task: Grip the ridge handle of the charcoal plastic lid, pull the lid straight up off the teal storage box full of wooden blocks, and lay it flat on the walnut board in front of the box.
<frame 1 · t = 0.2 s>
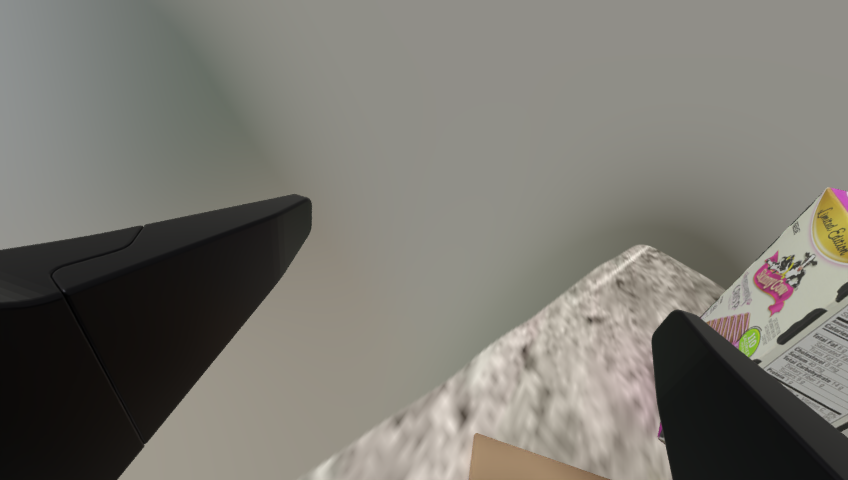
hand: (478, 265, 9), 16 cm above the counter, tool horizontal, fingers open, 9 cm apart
candy bar box: (692, 405, 27), on the counter
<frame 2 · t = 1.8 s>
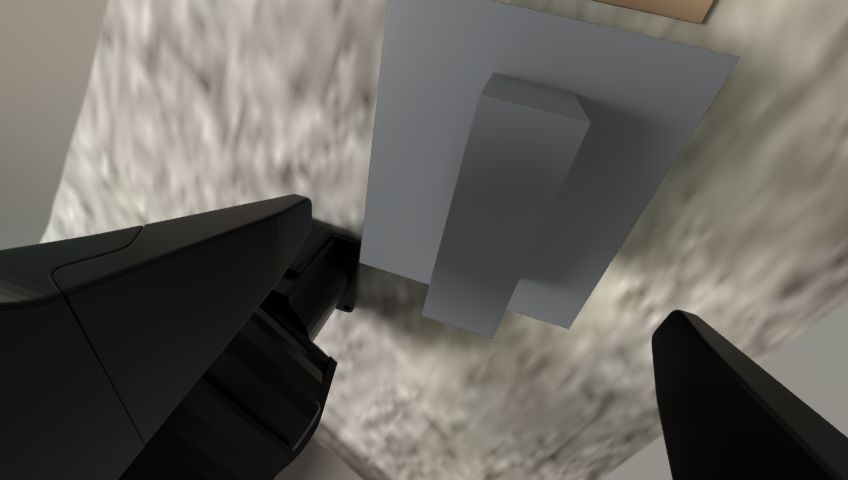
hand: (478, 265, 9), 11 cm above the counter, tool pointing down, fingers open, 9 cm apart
lid: (501, 167, 14), point 4 cm above the counter, touching storage box
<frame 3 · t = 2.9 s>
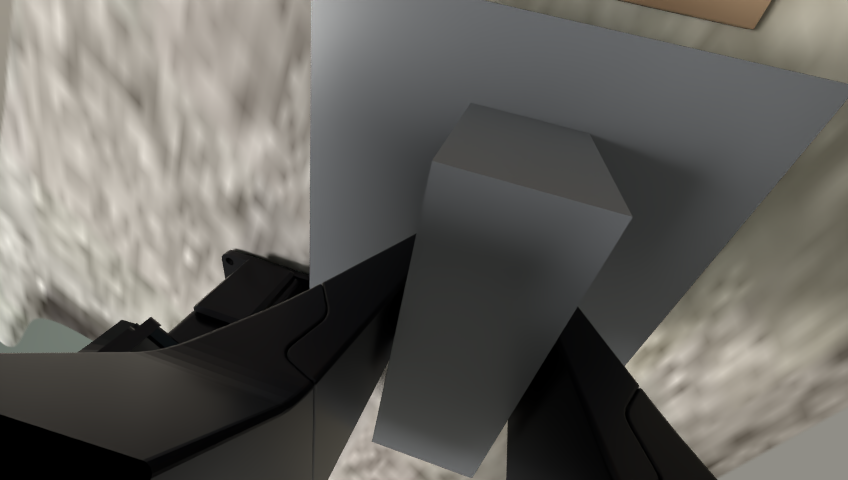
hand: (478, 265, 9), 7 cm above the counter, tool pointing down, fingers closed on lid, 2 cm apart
lid: (487, 218, 11), point 4 cm above the counter, touching gripper, storage box
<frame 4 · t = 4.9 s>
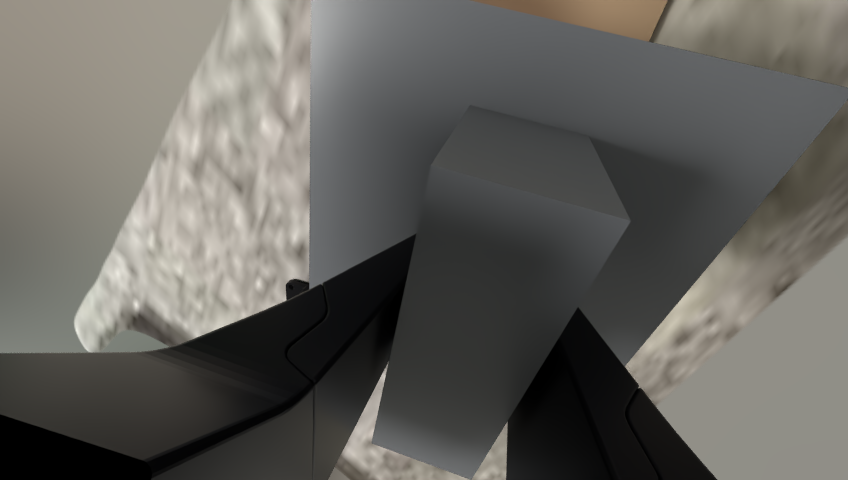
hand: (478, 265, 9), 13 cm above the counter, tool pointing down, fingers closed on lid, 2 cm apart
walnut board: (525, 27, 17), on the counter
lid: (487, 220, 11), point 11 cm above the counter, touching gripper
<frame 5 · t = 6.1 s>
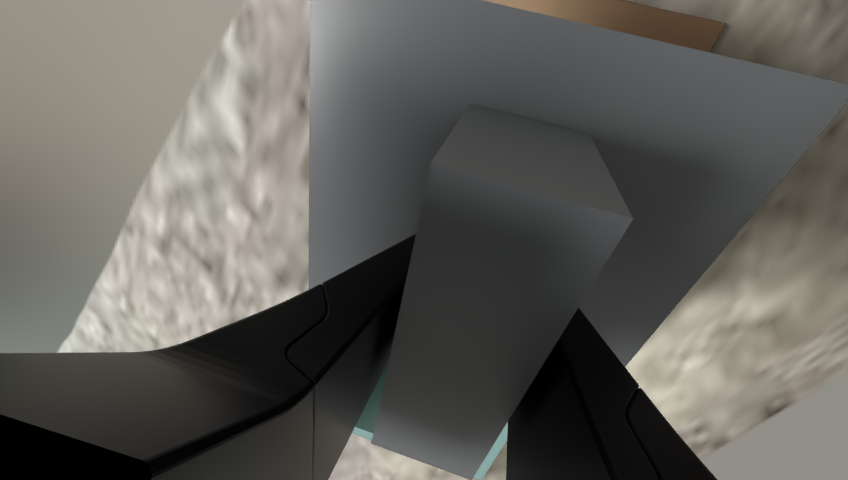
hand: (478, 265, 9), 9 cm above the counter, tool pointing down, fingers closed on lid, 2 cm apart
walnut board: (502, 150, 16), on the counter
storage box: (443, 328, 23), on the counter
lid: (487, 219, 11), point 6 cm above the counter, touching gripper
when the fingers open (4 cm above the counter, at t = 7.0 s): lid drops 2 cm, resting on walnut board.
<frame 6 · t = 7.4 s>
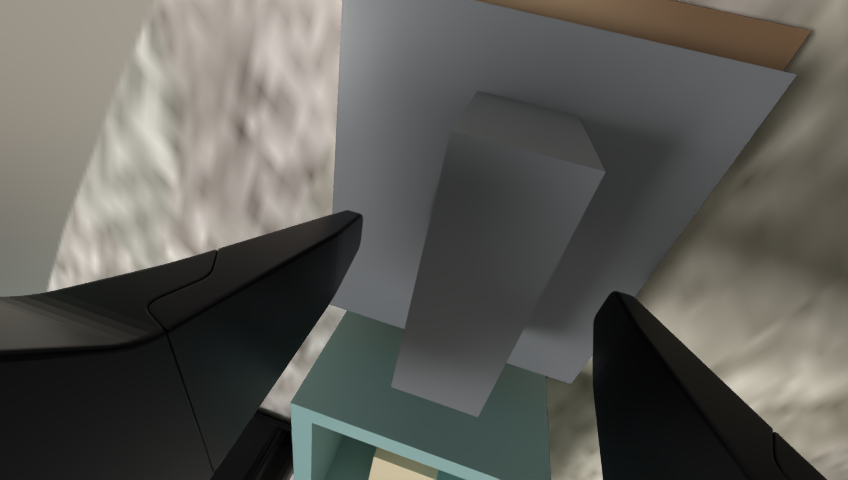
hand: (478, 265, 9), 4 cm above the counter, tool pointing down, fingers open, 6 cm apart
walnut board: (493, 192, 12), on the counter
storage box: (426, 389, 19), on the counter
lid: (490, 198, 12), resting on walnut board
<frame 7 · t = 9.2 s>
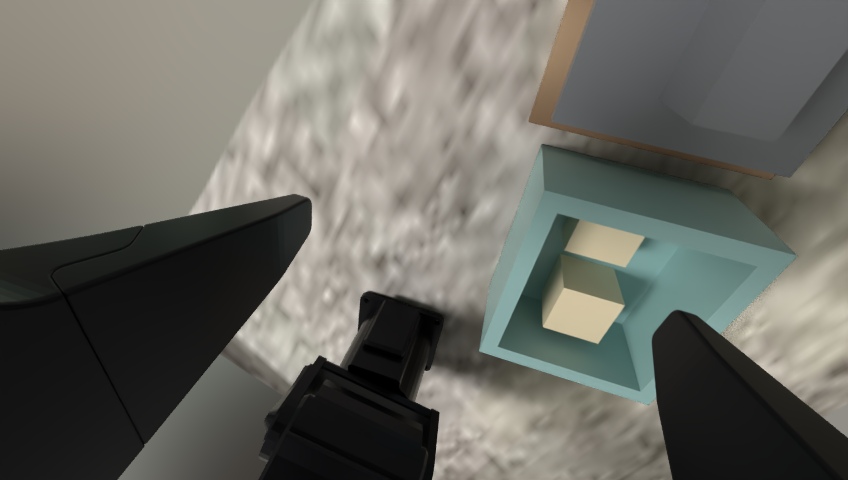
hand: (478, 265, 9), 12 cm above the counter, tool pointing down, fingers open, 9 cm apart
storage box: (588, 246, 20), on the counter
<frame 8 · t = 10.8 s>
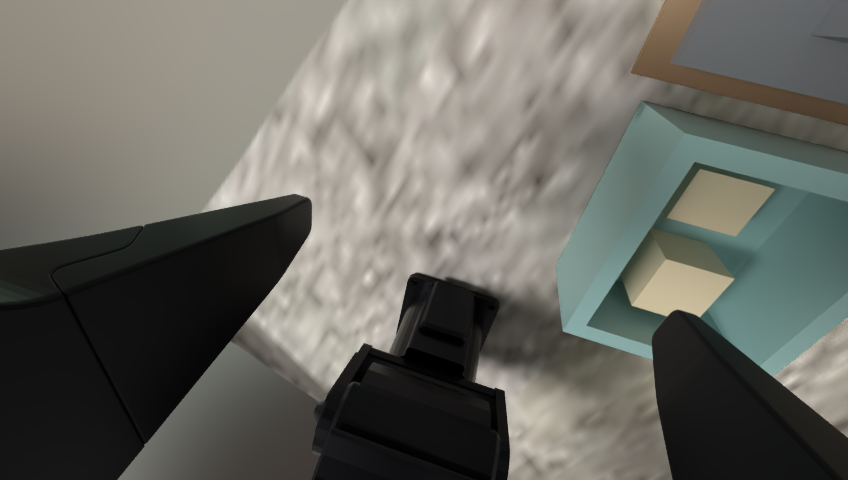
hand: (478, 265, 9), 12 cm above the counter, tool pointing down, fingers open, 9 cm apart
storage box: (677, 219, 19), on the counter
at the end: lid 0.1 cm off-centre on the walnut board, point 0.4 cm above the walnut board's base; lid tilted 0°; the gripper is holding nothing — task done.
